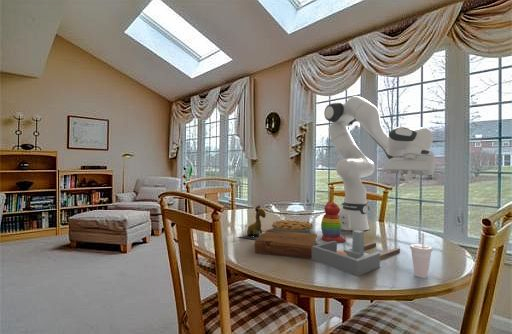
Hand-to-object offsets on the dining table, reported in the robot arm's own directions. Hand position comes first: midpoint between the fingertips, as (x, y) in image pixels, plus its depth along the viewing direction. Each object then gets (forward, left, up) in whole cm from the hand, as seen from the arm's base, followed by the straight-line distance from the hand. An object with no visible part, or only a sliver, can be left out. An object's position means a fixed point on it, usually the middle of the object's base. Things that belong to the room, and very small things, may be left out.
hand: (402, 180), depth 122 cm
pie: (-50, -16, -30) cm, 61 cm away
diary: (-29, -39, -30) cm, 57 cm away
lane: (-4, -16, -29) cm, 34 cm away
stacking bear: (-27, -12, -30) cm, 42 cm away
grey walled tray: (-4, -33, -29) cm, 45 cm away
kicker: (-4, -25, -29) cm, 39 cm away
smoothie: (+18, -23, -30) cm, 42 cm away
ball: (-4, -36, -27) cm, 45 cm away
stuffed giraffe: (-56, -37, -30) cm, 73 cm away
